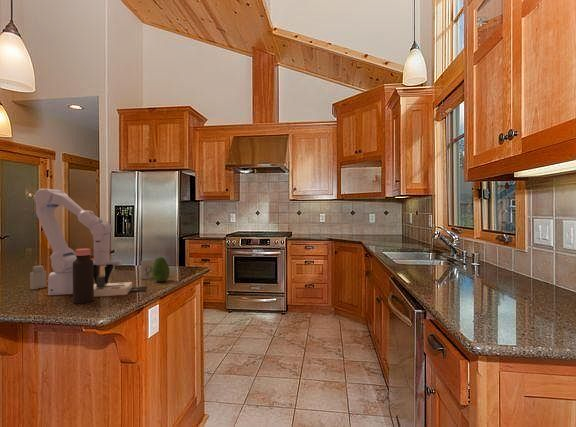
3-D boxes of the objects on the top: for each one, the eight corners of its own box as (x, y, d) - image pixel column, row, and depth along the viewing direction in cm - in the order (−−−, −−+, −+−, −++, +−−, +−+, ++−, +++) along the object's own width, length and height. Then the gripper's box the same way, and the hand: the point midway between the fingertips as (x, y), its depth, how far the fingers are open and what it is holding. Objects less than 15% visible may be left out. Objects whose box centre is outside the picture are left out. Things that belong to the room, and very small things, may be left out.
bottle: (74, 300, 126) (74, 248, 126) (95, 298, 129) (94, 247, 129) (71, 305, 120) (70, 250, 120) (92, 302, 123) (91, 249, 122)
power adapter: (47, 286, 147) (46, 260, 147) (34, 289, 142) (34, 262, 142) (42, 286, 148) (41, 259, 148) (29, 289, 143) (29, 261, 143)
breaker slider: (96, 287, 135) (96, 277, 135) (99, 284, 139) (99, 275, 139) (104, 286, 136) (104, 276, 136) (107, 284, 140) (107, 274, 140)
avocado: (157, 279, 162) (157, 255, 162) (172, 280, 161) (172, 256, 161) (148, 283, 154) (148, 258, 154) (164, 284, 153) (164, 258, 153)
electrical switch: (141, 279, 162) (140, 260, 163) (140, 278, 167) (140, 260, 168) (161, 278, 166) (161, 259, 167) (160, 277, 171) (160, 259, 172)
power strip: (85, 297, 131) (85, 290, 130) (94, 289, 142) (94, 283, 142) (144, 293, 136) (144, 287, 136) (148, 286, 148) (148, 281, 148)
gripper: (78, 252, 131) (79, 286, 132) (118, 251, 135) (118, 284, 135) (84, 250, 138) (84, 282, 138) (122, 249, 142) (122, 280, 142)
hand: (101, 283), depth 137 cm, fingers closed on breaker slider, 3 cm apart
